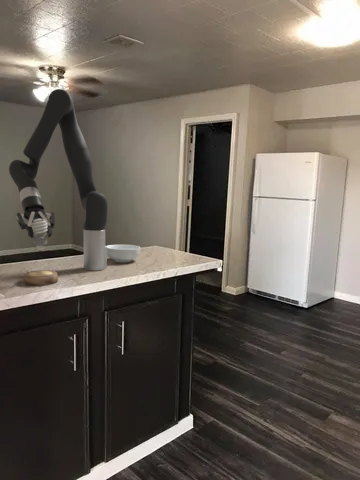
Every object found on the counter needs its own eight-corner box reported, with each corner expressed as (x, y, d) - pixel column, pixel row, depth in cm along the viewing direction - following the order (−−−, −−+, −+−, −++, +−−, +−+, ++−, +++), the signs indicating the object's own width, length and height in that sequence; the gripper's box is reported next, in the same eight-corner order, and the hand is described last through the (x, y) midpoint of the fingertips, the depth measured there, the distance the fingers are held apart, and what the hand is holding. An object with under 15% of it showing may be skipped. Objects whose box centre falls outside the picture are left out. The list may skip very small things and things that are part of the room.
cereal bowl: (144, 263, 186) (144, 249, 185) (109, 265, 180) (109, 250, 179) (135, 257, 202) (135, 243, 201) (102, 258, 195) (102, 244, 194)
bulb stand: (42, 276, 156) (42, 268, 155) (64, 281, 150) (64, 272, 149) (16, 282, 145) (16, 274, 145) (38, 287, 139) (38, 278, 139)
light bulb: (50, 249, 149) (49, 218, 147) (45, 252, 143) (44, 219, 141) (34, 249, 149) (34, 217, 147) (29, 252, 143) (28, 219, 141)
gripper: (13, 194, 145) (22, 230, 137) (52, 195, 153) (63, 229, 145) (10, 208, 150) (18, 243, 142) (48, 207, 158) (58, 241, 150)
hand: (41, 236), depth 144 cm, fingers closed on light bulb, 5 cm apart
